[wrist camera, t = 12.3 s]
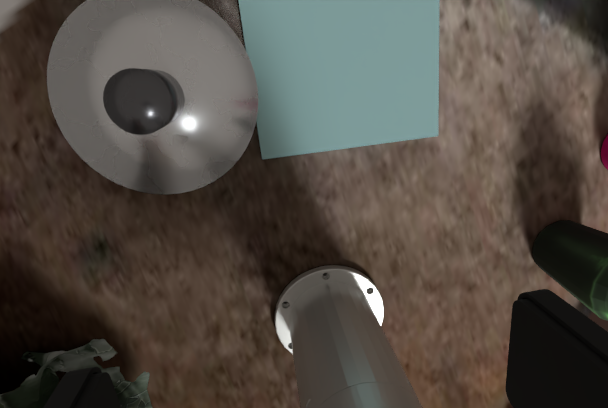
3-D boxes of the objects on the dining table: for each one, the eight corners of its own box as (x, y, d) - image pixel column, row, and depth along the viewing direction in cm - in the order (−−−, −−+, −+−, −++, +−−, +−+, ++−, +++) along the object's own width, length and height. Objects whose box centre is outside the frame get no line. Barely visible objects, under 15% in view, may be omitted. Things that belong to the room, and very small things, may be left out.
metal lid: (270, 177, 32) (274, 198, 27) (87, 204, 31) (52, 231, 25) (241, -24, 27) (237, -49, 22) (21, -2, 26) (-41, -23, 20)
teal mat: (436, 135, 39) (438, 135, 39) (262, 158, 38) (262, 159, 37) (437, -71, 33) (439, -73, 33) (230, -53, 32) (230, -55, 31)
